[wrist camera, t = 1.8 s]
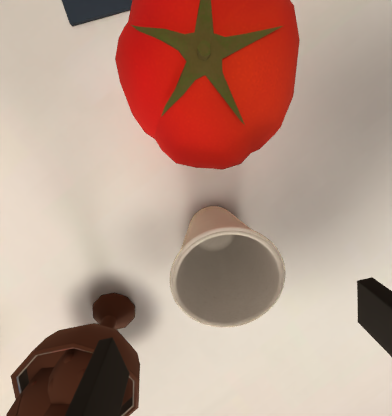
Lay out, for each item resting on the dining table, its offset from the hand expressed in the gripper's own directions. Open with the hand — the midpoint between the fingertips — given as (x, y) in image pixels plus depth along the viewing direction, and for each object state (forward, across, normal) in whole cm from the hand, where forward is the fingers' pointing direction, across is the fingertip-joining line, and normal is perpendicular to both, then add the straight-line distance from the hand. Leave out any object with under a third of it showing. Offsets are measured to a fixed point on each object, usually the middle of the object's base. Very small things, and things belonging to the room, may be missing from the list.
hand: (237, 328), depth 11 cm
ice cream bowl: (+14, +15, +8) cm, 22 cm away
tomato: (+14, -2, -14) cm, 20 cm away
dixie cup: (+14, 0, 0) cm, 14 cm away
